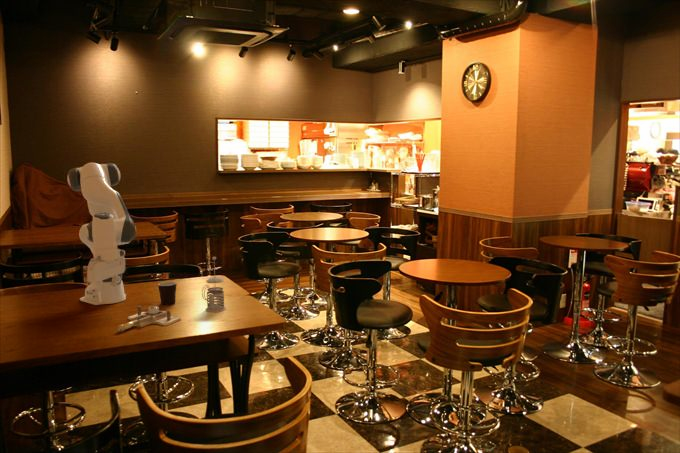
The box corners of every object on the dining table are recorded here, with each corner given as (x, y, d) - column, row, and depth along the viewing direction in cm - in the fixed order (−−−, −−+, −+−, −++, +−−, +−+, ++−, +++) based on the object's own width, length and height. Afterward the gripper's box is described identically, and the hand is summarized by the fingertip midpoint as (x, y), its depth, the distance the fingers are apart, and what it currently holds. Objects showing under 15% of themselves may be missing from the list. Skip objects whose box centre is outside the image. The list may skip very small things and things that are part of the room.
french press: (230, 308, 261) (229, 256, 257) (209, 314, 252) (207, 260, 249) (218, 305, 267) (216, 254, 264) (197, 310, 259) (195, 257, 255)
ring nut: (146, 317, 244) (146, 307, 244) (156, 315, 247) (156, 305, 247) (151, 319, 241) (150, 309, 240) (160, 317, 244) (160, 307, 243)
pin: (123, 332, 227) (122, 325, 226) (117, 331, 228) (117, 324, 227) (139, 326, 235) (139, 319, 234) (134, 325, 236) (133, 318, 235)
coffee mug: (172, 306, 265) (171, 286, 263) (155, 305, 266) (154, 285, 265) (183, 300, 276) (182, 280, 275) (167, 299, 278) (166, 279, 276)
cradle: (117, 323, 240) (116, 311, 239) (143, 313, 253) (142, 303, 252) (155, 329, 230) (155, 318, 229) (180, 320, 244) (180, 309, 243)
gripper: (96, 259, 208) (98, 295, 209) (127, 250, 228) (129, 283, 229) (81, 259, 209) (83, 294, 211) (113, 249, 229) (115, 282, 230)
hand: (107, 288), depth 220 cm, fingers open, 7 cm apart
